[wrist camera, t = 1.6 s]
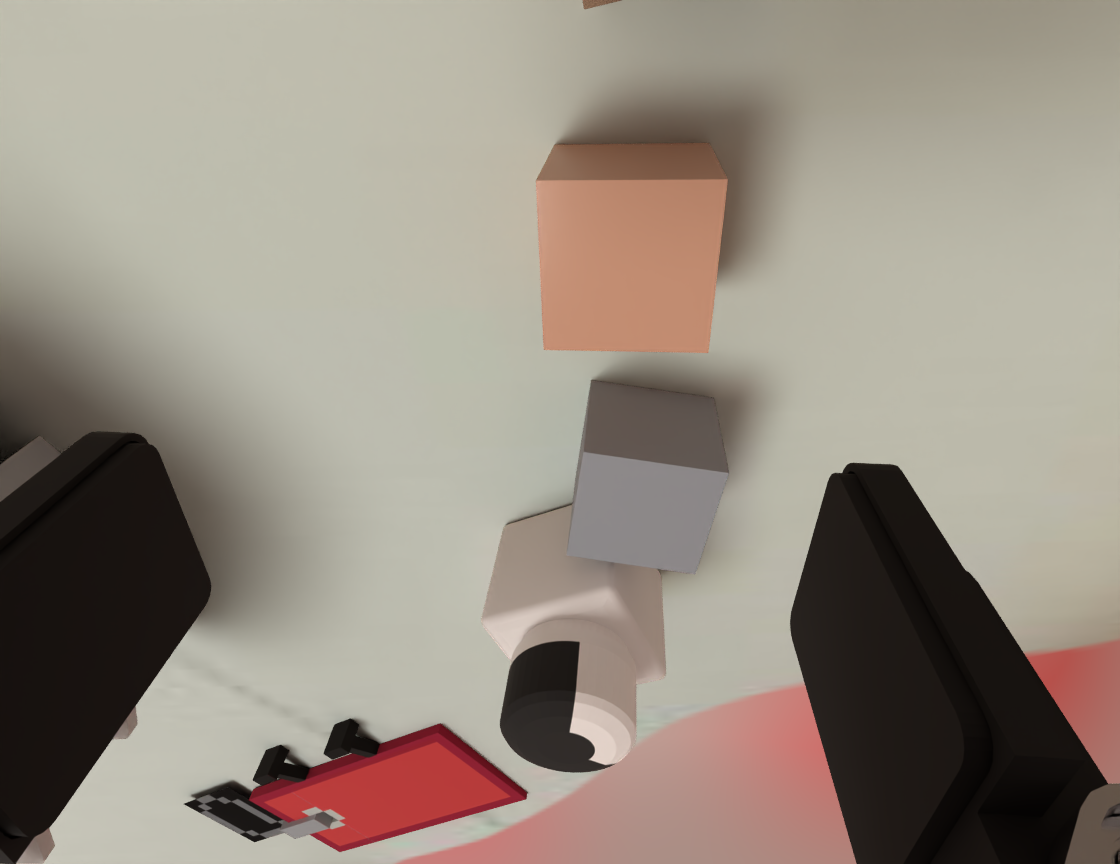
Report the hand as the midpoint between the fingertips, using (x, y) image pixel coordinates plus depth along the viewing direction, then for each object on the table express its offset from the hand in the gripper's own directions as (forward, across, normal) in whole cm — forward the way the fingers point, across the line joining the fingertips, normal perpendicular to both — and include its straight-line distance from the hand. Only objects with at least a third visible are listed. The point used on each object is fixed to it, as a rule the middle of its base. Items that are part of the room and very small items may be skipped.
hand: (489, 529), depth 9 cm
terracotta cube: (+21, -2, +1) cm, 21 cm away
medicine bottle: (+21, -1, +20) cm, 29 cm away
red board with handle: (+23, +20, +51) cm, 59 cm away
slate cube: (+21, -4, +12) cm, 24 cm away
